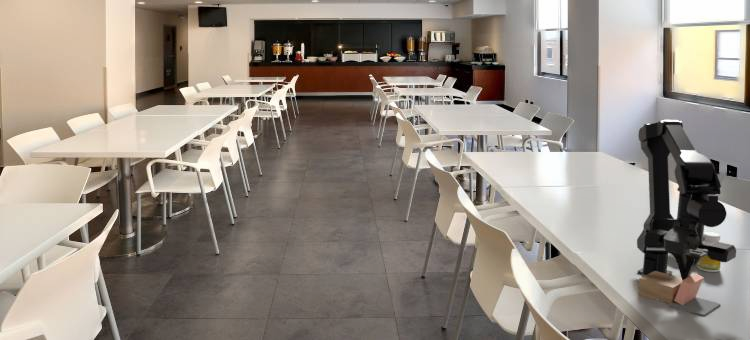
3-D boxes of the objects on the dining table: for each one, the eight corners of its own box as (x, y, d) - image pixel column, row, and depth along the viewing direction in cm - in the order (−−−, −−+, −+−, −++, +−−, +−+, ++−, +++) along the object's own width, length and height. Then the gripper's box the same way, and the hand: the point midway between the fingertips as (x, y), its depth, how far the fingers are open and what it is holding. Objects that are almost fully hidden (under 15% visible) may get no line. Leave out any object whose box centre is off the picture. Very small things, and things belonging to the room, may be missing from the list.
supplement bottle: (720, 273, 169) (724, 237, 168) (698, 271, 171) (701, 235, 170) (718, 267, 174) (722, 232, 172) (696, 264, 176) (699, 230, 174)
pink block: (695, 273, 152) (703, 277, 150) (687, 293, 154) (695, 297, 153) (682, 280, 147) (690, 284, 146) (674, 300, 149) (682, 305, 148)
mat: (686, 296, 154) (687, 294, 154) (720, 305, 149) (720, 303, 149) (669, 306, 148) (670, 304, 148) (704, 316, 143) (704, 314, 143)
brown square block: (653, 286, 161) (654, 270, 160) (686, 295, 155) (688, 279, 154) (638, 294, 155) (639, 278, 155) (671, 304, 150) (673, 287, 149)
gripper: (634, 213, 149) (629, 277, 152) (720, 230, 136) (712, 300, 138) (657, 205, 156) (651, 267, 159) (740, 220, 143) (733, 288, 146)
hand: (684, 280), depth 151 cm, fingers closed
